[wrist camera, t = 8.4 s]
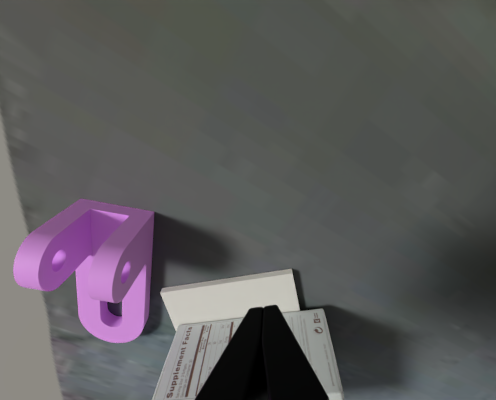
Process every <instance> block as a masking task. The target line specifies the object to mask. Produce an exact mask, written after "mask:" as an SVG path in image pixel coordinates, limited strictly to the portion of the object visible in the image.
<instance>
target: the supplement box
mask: <svg viewBox="0 0 496 400" xmlns="http://www.w3.org/2000/svg"><path fill="white" fill-rule="evenodd" d="M282 314H283V316H284V318H285V320H286V322H287V323H288V325H289V327H290V329H291V331H292V332H293V334H294V336H295V338H296V340H297V341H298V343H299V345H300V347H301V349H302V350H303V352H304V354H305V356H306V358H307V359H308V361H309V363H310V365H311V367H312V368H313V370H314V372H315V374H316V375H317V377H318V379H319V381H320V383H321V384H322V386H323V388H324V390H325V392H326V393H327V395H328V397H329V400H344V395H343V388H342V384H341V379H340V375H339V371H338V366H337V362H336V358H335V354H334V349H333V345H332V341H331V337H330V332H329V328H328V324H327V320H326V316H325V313H324V310H323V309H313V310H305V311H296V312H287V313H282ZM242 320H243V318H237V319H228V320H220V321H212V322H203V323H195V324H185V325H179V326H178V328H177V331H176V334H175V337H174V340H173V342H172V345H171V348H170V351H169V353H168V356H167V359H166V361H165V364H164V367H163V370H162V373H161V376H160V378H159V381H158V384H157V387H156V390H155V393H154V395H153V398H152V400H195V398H196V396H197V395H198V393H199V391H200V390H201V388H202V386H203V385H204V383H205V381H206V380H207V378H208V376H209V375H210V373H211V371H212V370H213V368H214V366H215V365H216V363H217V361H218V360H219V358H220V356H221V355H222V353H223V351H224V350H225V348H226V346H227V345H228V343H229V341H230V340H231V338H232V336H233V335H234V333H235V331H236V330H237V328H238V327H239V325H240V323H241V322H242Z"/></svg>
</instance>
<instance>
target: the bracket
mask: <svg viewBox="0 0 496 400" xmlns="http://www.w3.org/2000/svg"><path fill="white" fill-rule="evenodd" d="M153 230H154V212H153V211H147V210H142V209H136V208H131V207H125V206H120V205H114V204H108V203H103V202H97V201H92V200H86V199H79V200H78V201H76V202H75V203H73V204H72V205H71V206H69V207H68V208H66V209H65V210H63V211H62V212H60V213H59V214H57V215H56V216H55V217H53V218H52V219H50V220H49V221H47V222H46V223H44V224H43V225H41V226H40V227H38V228H37V229H36V230H34V231H33V232H31V233H30V234H29V235H28V236H27V237H26V239H25V240H24V241H23V243H22V244H21V246H20V248H19V250H18V252H17V255H16V257H15V261H14V268H13V272H14V278H15V281H16V282H17V284H18V285H20V286H21V287H26V288H31V289H37V290H43V291H53V290H55V289H56V288H58V287H59V286H60V285H61V284H62V283H63V282H64V281H65V280H66V279H67V278H68V277H69V276H70V275H71V274H72V273H73V272H74V271H75V270H76V285H77V299H78V313H79V318H80V321H81V323H82V324H83V326H84V327H85V328H86V329H87V330H88V331H89V332H90V333H91V334H93V335H94V336H96V337H98V338H100V339H102V340H105V341H108V342H113V343H124V342H129V341H132V340H134V339H135V338H137V337H138V336H139V335H140V334H141V332H142V330H143V328H144V326H145V324H146V322H147V320H148V317H149V304H150V285H151V267H152V248H153ZM121 301H122V316H115V315H113V314H112V313H110V312H109V310H108V307H107V302H112V303H119V302H121Z"/></svg>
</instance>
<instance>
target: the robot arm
mask: <svg viewBox="0 0 496 400" xmlns="http://www.w3.org/2000/svg"><path fill="white" fill-rule="evenodd" d="M195 400H329V397H328V395H327V393H326V392H325V390H324V388H323V386H322V384H321V383H320V381H319V379H318V377H317V375H316V374H315V372H314V370H313V368H312V367H311V365H310V363H309V361H308V359H307V358H306V356H305V354H304V352H303V350H302V349H301V347H300V345H299V343H298V341H297V340H296V338H295V336H294V334H293V332H292V331H291V329H290V327H289V325H288V323H287V322H286V320H285V318H284V316H283V314H282V313H281V311H280V309H279V307H278V306H277V305H269V306H265V307H264V308H263V307H254V308H250V309H249V310H248V312H247V313H246V315H245V317H244V318H243V320H242V322H241V323H240V325H239V327H238V328H237V330H236V331H235V333H234V335H233V336H232V338H231V340H230V341H229V343H228V345H227V346H226V348H225V350H224V351H223V353H222V355H221V356H220V358H219V360H218V361H217V363H216V365H215V366H214V368H213V370H212V371H211V373H210V375H209V376H208V378H207V380H206V381H205V383H204V385H203V386H202V388H201V390H200V391H199V393H198V395H197V396H196V398H195Z"/></svg>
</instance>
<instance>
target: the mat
mask: <svg viewBox="0 0 496 400" xmlns="http://www.w3.org/2000/svg"><path fill="white" fill-rule="evenodd" d="M160 294H161V296H162V299H163V301H164V303H165V306H166V308H167V311H168V313H169V315H170V318H171V320H172V323H173V325H174V327H175V330H176V331H177V328H178V326H179V325H185V324H195V323H203V322H212V321H220V320H228V319H237V318H244V317H245V315H246V313H247V312H248V310H249V309H250V308H254V307H263V308H264V307H265V306H269V305H277V306H278V307H279V309H280V311H281V313H287V312H296V311H300V307H299V302H298V297H297V292H296V287H295V282H294V277H293V272H292V269H286V270H280V271H273V272H266V273H260V274H253V275H246V276H240V277H233V278H226V279H220V280H213V281H206V282H200V283H193V284H186V285H180V286H173V287H166V288H162V290H161V292H160Z"/></svg>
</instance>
